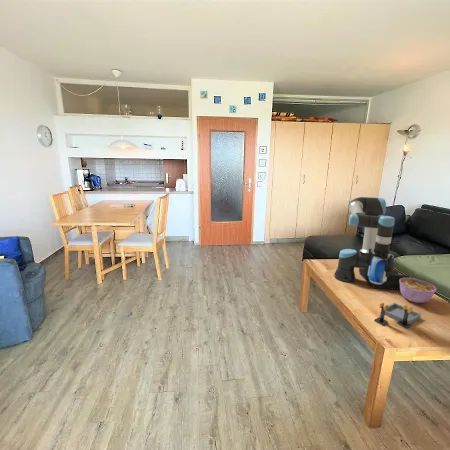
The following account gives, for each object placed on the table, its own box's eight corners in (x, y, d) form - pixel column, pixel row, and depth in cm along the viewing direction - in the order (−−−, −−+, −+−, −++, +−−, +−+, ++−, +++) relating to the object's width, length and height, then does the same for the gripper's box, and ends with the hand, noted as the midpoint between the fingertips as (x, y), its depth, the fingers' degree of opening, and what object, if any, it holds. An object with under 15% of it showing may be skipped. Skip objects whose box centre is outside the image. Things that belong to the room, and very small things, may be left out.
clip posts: (374, 321, 149) (377, 303, 146) (387, 314, 156) (390, 297, 153) (398, 333, 138) (402, 315, 135) (411, 325, 145) (415, 308, 142)
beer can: (376, 285, 150) (380, 260, 146) (364, 279, 158) (368, 255, 154) (387, 284, 152) (392, 259, 148) (375, 277, 160) (380, 253, 156)
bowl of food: (398, 289, 186) (401, 274, 183) (433, 298, 174) (436, 283, 171) (394, 300, 171) (397, 284, 168) (432, 311, 159) (436, 295, 156)
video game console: (394, 276, 209) (396, 265, 206) (413, 291, 184) (415, 278, 182) (357, 274, 211) (359, 263, 209) (371, 289, 187) (374, 276, 184)
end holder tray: (380, 312, 157) (381, 309, 157) (393, 306, 165) (394, 302, 164) (407, 326, 145) (408, 322, 144) (420, 318, 152) (421, 314, 151)
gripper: (361, 238, 156) (356, 272, 162) (398, 249, 138) (391, 287, 144) (369, 236, 159) (363, 270, 165) (406, 246, 142) (398, 284, 148)
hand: (376, 278), depth 155 cm, fingers closed on beer can, 8 cm apart
